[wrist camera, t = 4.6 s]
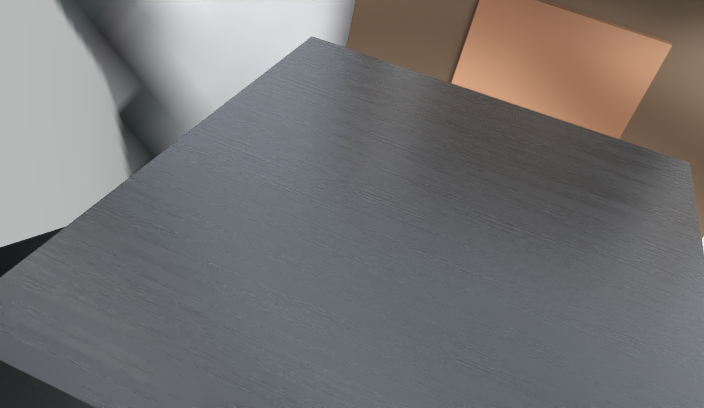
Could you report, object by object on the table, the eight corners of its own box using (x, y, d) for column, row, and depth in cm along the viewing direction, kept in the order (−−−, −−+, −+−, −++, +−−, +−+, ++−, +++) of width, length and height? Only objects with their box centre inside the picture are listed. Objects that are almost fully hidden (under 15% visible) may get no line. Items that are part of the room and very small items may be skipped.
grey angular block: (536, 398, 9) (467, 852, 5) (276, 288, 10) (49, 608, 6) (689, 162, 6) (781, 747, 2) (311, 35, 7) (-66, 328, 3)
